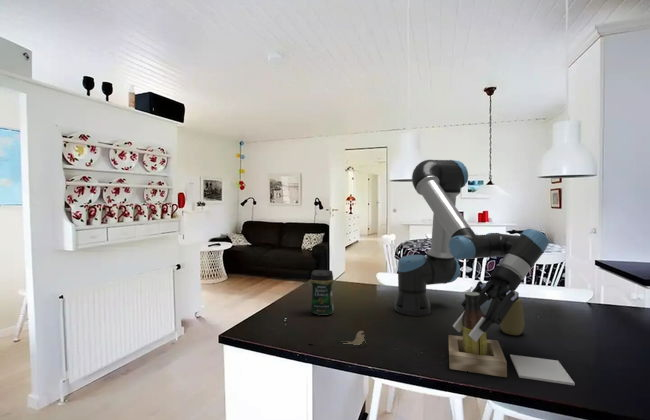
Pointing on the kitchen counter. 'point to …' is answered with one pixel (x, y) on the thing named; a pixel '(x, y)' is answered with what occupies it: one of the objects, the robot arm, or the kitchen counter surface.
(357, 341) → the jawbone
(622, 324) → the kitchen counter surface
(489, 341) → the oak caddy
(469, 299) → the sauce bottle
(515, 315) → the squeeze bottle
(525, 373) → the grey mat
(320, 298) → the coffee jar
